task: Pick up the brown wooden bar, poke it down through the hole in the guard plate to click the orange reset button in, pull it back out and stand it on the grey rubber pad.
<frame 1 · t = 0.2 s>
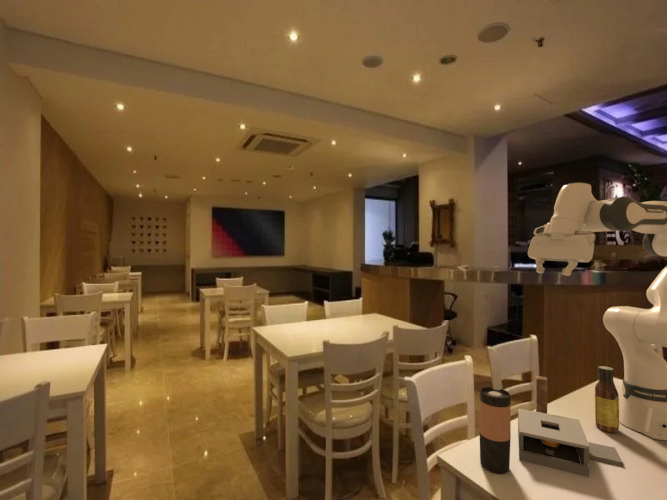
hand: (552, 273, 108), 51 cm above the table, tool tilted 20°, fingers open, 8 cm apart
sauce bottle: (606, 429, 115), on the table
brown wooden bar: (541, 425, 116), on the table
travel mug: (494, 466, 95), on the table
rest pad: (601, 454, 100), on the table
reset button: (550, 438, 101), point 4 cm above the table, slide at 0.0 cm
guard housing: (549, 453, 101), on the table
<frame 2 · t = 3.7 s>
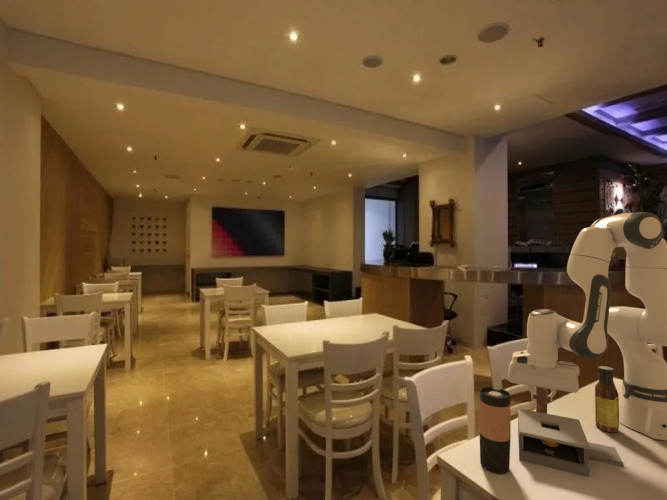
hand: (541, 400, 116), 9 cm above the table, tool pointing down, fingers closed on brown wooden bar, 3 cm apart
brown wooden bar: (541, 425, 116), on the table, touching gripper
everything else where it was.
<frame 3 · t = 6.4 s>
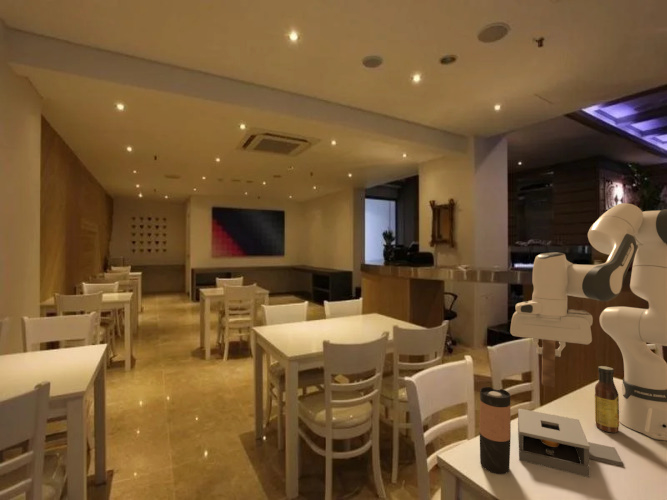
hand: (548, 355, 102), 28 cm above the table, tool pointing down, fingers closed on brown wooden bar, 3 cm apart
brown wooden bar: (548, 384, 102), point 19 cm above the table, touching gripper
everything else where it was.
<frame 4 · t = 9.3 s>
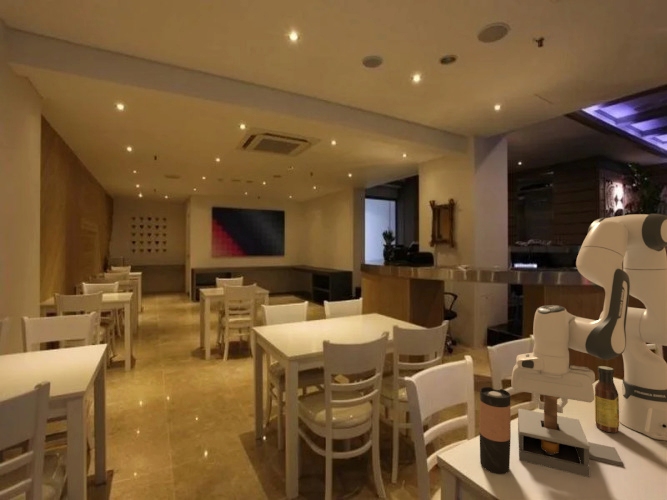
hand: (550, 410, 101), 12 cm above the table, tool pointing down, fingers closed on brown wooden bar, 3 cm apart
brown wooden bar: (550, 440, 101), point 4 cm above the table, touching gripper
reset button: (550, 444, 101), point 2 cm above the table, slide at 1.8 cm
everything else where it was.
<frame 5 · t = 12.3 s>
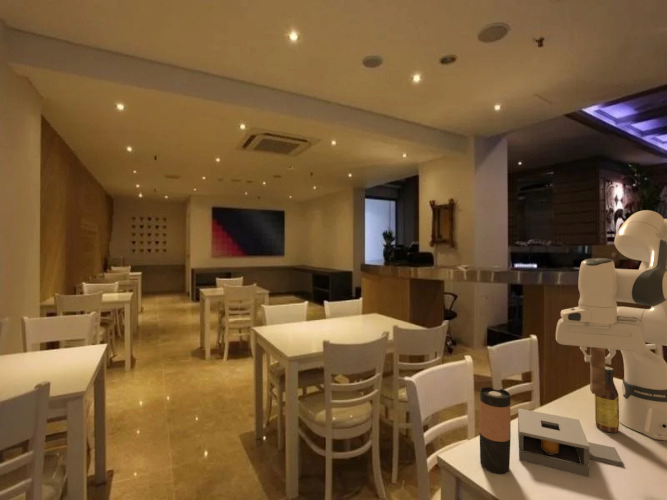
hand: (597, 362, 100), 26 cm above the table, tool pointing down, fingers closed on brown wooden bar, 3 cm apart
brown wooden bar: (597, 392, 100), point 18 cm above the table, touching gripper
everything else where it was.
when the fingers open (11 cm above the table, at t = 14.9 s): brown wooden bar drops 1 cm, resting on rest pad.
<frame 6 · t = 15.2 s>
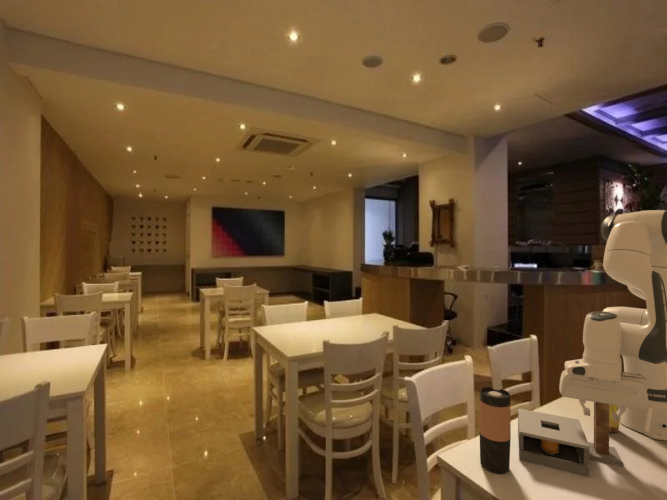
hand: (601, 417, 100), 11 cm above the table, tool pointing down, fingers open, 5 cm apart
brown wooden bar: (601, 451, 100), point 1 cm above the table, touching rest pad
everything else where it was.
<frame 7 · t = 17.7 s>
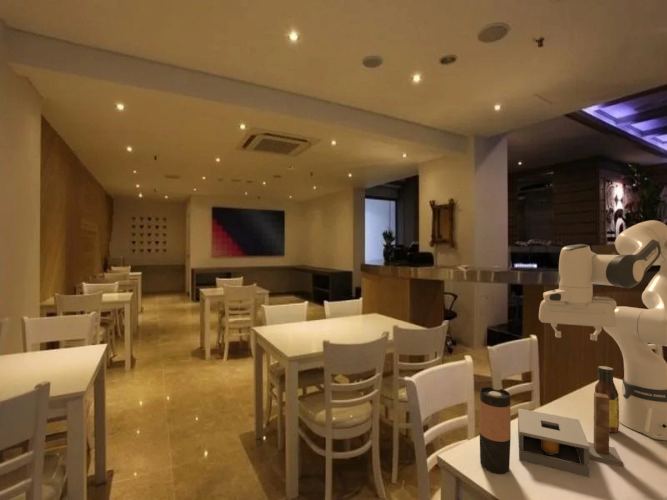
hand: (575, 338, 111), 30 cm above the table, tool pointing down, fingers open, 8 cm apart
nothing on the table moved.
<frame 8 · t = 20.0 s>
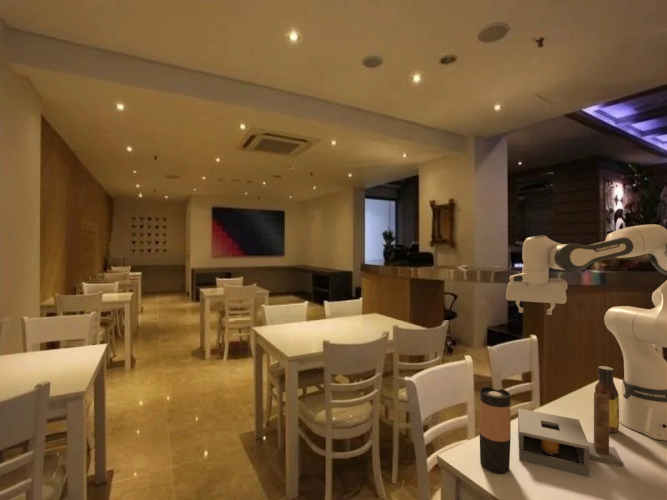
hand: (534, 313, 134), 34 cm above the table, tool pointing down, fingers open, 8 cm apart
nothing on the table moved.
at the end: reset button slide at 1.8 cm; brown wooden bar 0.1 cm off-centre on the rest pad, point 1.0 cm above the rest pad's base; brown wooden bar tilted 0° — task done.
